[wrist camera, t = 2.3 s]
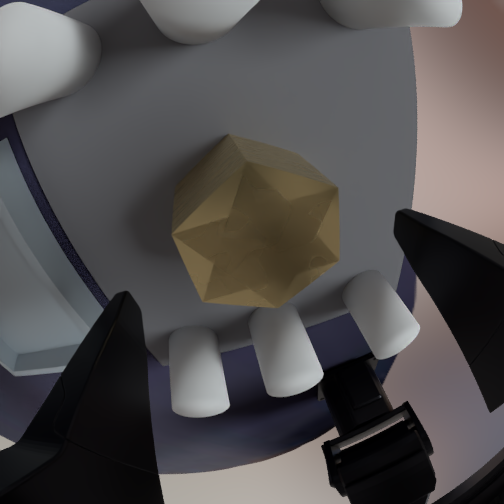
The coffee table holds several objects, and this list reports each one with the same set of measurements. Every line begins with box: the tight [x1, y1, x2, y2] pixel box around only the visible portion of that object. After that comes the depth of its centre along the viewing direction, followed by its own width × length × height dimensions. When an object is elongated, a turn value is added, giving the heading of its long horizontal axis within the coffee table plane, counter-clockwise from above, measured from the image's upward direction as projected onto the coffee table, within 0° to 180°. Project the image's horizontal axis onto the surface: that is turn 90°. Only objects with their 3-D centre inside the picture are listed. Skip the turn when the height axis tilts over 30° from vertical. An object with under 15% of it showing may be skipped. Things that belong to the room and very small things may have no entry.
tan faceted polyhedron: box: [172, 134, 340, 308], centre depth 10 cm, size 6×5×4 cm
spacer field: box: [0, 0, 462, 417], centre depth 10 cm, size 20×17×5 cm
